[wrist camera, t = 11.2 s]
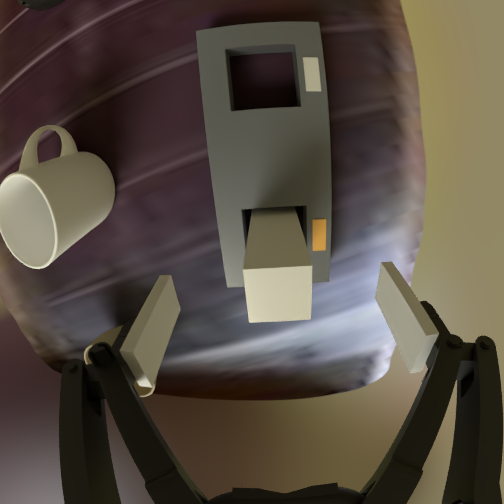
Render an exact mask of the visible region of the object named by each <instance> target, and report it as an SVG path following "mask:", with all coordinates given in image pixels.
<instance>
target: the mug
mask: <svg viewBox="0 0 504 504" xmlns="http://www.w3.org/2000/svg"><path fill="white" fill-rule="evenodd" d="M48 129H52V130H55V131H56V132H57V133H58V134H59V135H60V138H61V142H62V150H61V155H60V157H58V158H55V159H51V160H48V161H45V162H42V163H38V158H37V144H38V140H39V138H40V136H41V134H42V133H43V132H44V131H46V130H48ZM114 198H115V184H114V179H113V176H112V174H111V171H110V169H109V168H108V166H107V165H106V163H105V162H104V161H103V160H102V159H101V158H99V157H98V156H96V155H95V154H92V153H89V152H78V150H77V147H76V144H75V142H74V140H73V138H72V136H71V135H70V134H69V133H68V132H67V131H66V130H65V129H64V128H62V127H59V126H56V125H47V126H43V127H41V128H39V129H37V130H36V131H35V132H34V133H33V134H32V135H31V137H30V138H29V140H28V141H27V143H26V146H25V148H24V151H23V155H22V158H21V163H20V167H19V171H17V172H15V173H12V174H10V175H9V176H7V177H6V178H5V179H4V181H3V182H2V184H1V186H0V232H1V234H2V237H3V239H4V241H5V243H6V245H7V247H8V248H9V250H10V251H11V252H12V254H13V255H14V256H15V257H16V258H17V259H18V260H19V261H20V262H22V263H23V264H24V265H26V266H28V267H31V268H35V269H40V268H44V267H46V266H48V265H49V264H50V263H51V262H53V261H54V260H55V259H56V258H57V257H58V256H60V255H61V254H62V253H63V252H64V251H66V250H67V249H68V248H69V247H70V246H72V245H73V244H74V243H75V242H77V241H78V240H79V239H80V238H82V237H83V236H84V235H85V234H87V233H88V232H89V231H91V230H92V229H93V228H95V227H96V226H97V225H98V224H100V223H101V222H102V221H103V220H104V219H105V218H106V217H107V215H108V214H109V213H110V211H111V209H112V206H113V203H114Z"/></svg>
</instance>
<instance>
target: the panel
mask: <svg viewBox="0 0 504 504" xmlns="http://www.w3.org/2000/svg"><path fill="white" fill-rule="evenodd" d="M196 36H197V48H198V60H199V71H200V81H201V91H202V101H203V111H204V120H205V129H206V137H207V146H208V154H209V162H210V170H211V178H212V186H213V194H214V201H215V208H216V215H217V223H218V230H219V237H220V243H221V250H222V257H223V263H224V270H225V276H226V282H227V287H245V284H244V276H243V265H244V258H245V252H246V245H247V239H248V236H247V227H246V217H245V209H255V208H270V207H287V206H303V236H304V239H305V242H306V246H307V249H308V253H309V256H310V259H311V263H312V283H316V282H329V274H330V253H331V209H332V190H331V147H330V126H329V110H328V97H327V85H326V75H325V66H324V57H323V49H322V41H321V34H320V27H319V22H265V23H251V24H241V25H232V26H224V27H217V28H211V29H205V30H199V31H196ZM281 52H292V59H293V68H294V78H295V88H296V99H297V107H281V108H264V109H251V110H241V111H235V109H234V99H233V89H232V78H231V68H230V58H229V57H231V56H239V55H249V54H262V53H281Z"/></svg>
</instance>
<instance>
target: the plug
mask: <svg viewBox="0 0 504 504" xmlns="http://www.w3.org/2000/svg"><path fill="white" fill-rule="evenodd" d="M243 276H244V284H245V292H246V300H247V308H248V316H249V323H251V322H274V321H292V320H307V319H311V297H312V263H311V259H310V256H309V253H308V249H307V246H306V242H305V239H304V236H303V232H302V229H301V226H300V223H299V219H298V216H297V213H296V210H295V207H294V206H287V207H270V208H255V209H252V213H251V219H250V226H249V232H248V239H247V245H246V252H245V258H244V265H243Z"/></svg>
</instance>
